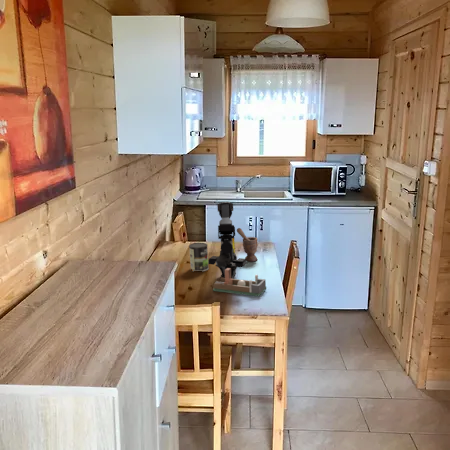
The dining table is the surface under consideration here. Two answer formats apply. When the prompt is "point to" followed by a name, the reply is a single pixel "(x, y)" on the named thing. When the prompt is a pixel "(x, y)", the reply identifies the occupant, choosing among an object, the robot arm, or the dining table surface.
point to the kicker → (227, 277)
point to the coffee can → (198, 256)
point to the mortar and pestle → (249, 246)
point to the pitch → (242, 287)
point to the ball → (241, 283)
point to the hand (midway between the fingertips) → (228, 277)
